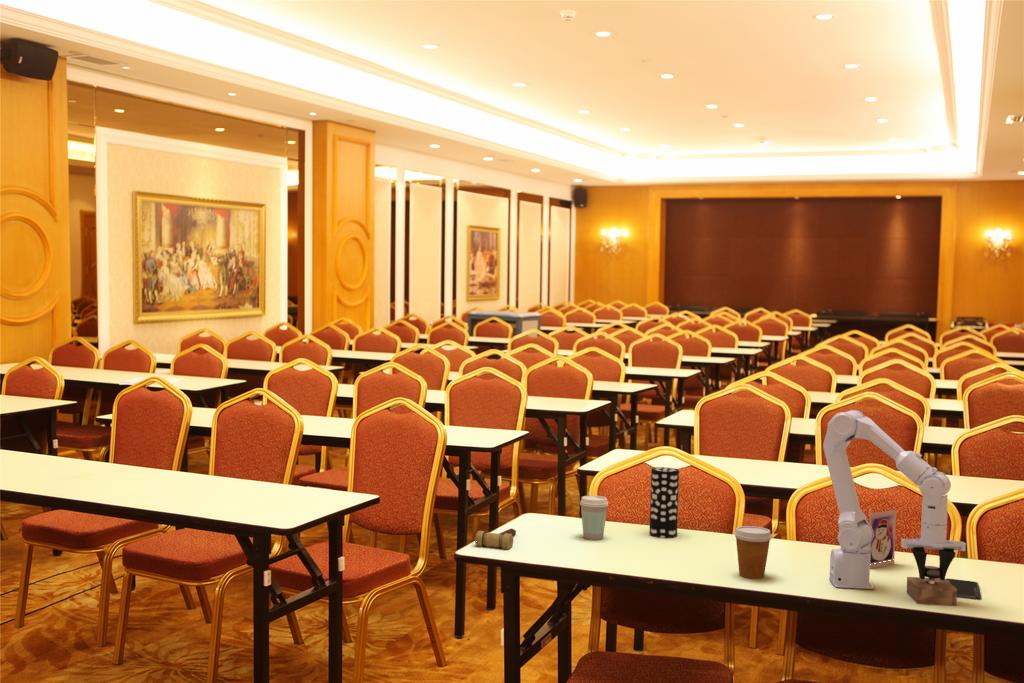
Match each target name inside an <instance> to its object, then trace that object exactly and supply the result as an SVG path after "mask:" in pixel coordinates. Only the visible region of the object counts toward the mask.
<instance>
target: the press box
mask: <svg viewBox="0 0 1024 683" xmlns="http://www.w3.org/2000/svg"><path fill="white" fill-rule="evenodd" d="M946 579H947V578H945V580H941V579H940V578H935V584H928V583H929V578H928V577H925V579H921V578H920V577H917V576H907V577H906V594H907V595H908V596H909V597H910V598H911V599H912V600H913V601H914V602H915V603H916V604H919V605H921V604H922V605H939V606H957V603H958V602H957V601H958V600H957V599H958V597H957V588H955V587H954V586H953V585H952V584H951V583H949V582H948V581H947V580H946Z"/></svg>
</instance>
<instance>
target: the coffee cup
mask: <svg viewBox="0 0 1024 683" xmlns="http://www.w3.org/2000/svg"><path fill="white" fill-rule="evenodd" d="M579 504H580V509H581V510H580V512H581V524H582V533H583V534H582V536H583V538H584V539H586V540H588V541H589V540H590V541H599V540H603V539H604V536H605V535H604V533H605V526H606V520H607V513H608V506H609V501H608V498H607V497H606V496H603V495H602V496H601V495H594V494H593V495H584V496H581V500H580V501H579Z"/></svg>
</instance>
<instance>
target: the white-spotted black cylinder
mask: <svg viewBox="0 0 1024 683" xmlns="http://www.w3.org/2000/svg"><path fill="white" fill-rule="evenodd" d="M650 470H651V471H650V473H651V475H650V476H651V477H650V501H649V502H650V509H649V535H650V536H651V537H654V538H659V539H674V538H676V537H677V536H678V520H679V517H678V514H679V491H680V490H679V489H680V488H679V487H680V486H679V485H680V470H679V469H678V468H674V467H665V466H663V467H662V466H661V467H660V466H659V467H651V469H650Z"/></svg>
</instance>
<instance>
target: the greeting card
mask: <svg viewBox="0 0 1024 683" xmlns="http://www.w3.org/2000/svg"><path fill="white" fill-rule="evenodd" d="M868 523H869V525H870V526H871V527H872V529H873V532H874V537H873V540H872V541H871V542H870V543H869V547H870V549H871V550H870V564H871V565H870V569H873V568H874V569H875V568H879V567H884V566H889V565H890V566H891V565H894V564H895V552H896V551H895V550H896V549H895V548H896V530H897V529H896V528H897V526H896V525H897V524H896V523H897V509H891V510H886V511H878V512H873V513H872V509H869V522H868ZM893 559H894V560H893ZM888 560H891V561H888ZM883 561H886V562H883ZM879 562H881V563H879ZM874 563H876V564H874Z"/></svg>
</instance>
